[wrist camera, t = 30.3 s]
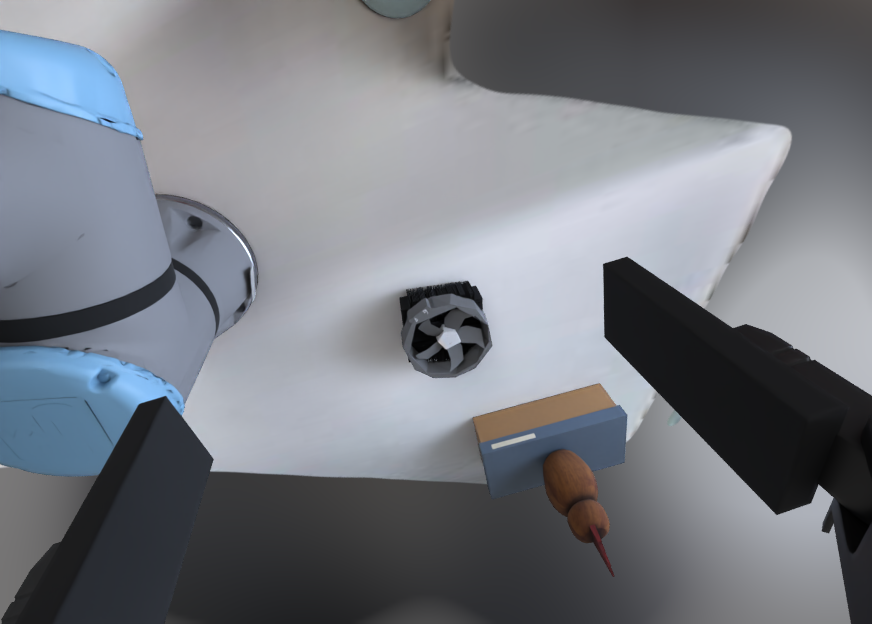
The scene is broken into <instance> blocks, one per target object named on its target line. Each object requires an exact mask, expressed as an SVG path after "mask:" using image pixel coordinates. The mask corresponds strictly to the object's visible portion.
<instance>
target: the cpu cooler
mask: <svg viewBox="0 0 872 624" xmlns="http://www.w3.org/2000/svg"><path fill="white" fill-rule="evenodd" d="M438 286H439V285H437V287H436V286H435V288H433V289H432V286H431V287H430V288H429V286H427V288H426V289H425V291H423V288H422V289H421V287H419V288H418V289H417V291H416V292H415V293H414V291H415V289H413V291H412V292H411V289H410V291H408V292H407V296H404V297H399V298H400V306H401V314H402V321H403V329H402V331H401V337H402V344H403V348H404V350H405V352H406V354H407V356H408V361H409V362H411V363H412V365H413V367H414V369H415V370H417V371H419V372H421V373H424V374H426V375H428V376H430V377H432V378H450V377H457V376H459V375H461V374H464V373H466V372H468V371H470V370H472V369H474V368H476V366H477V365H478V364H479V363H480V361H481V360H482V359H483V357H484V356H485V355H486V354H487V352H488V351H489V350H490V348H491V347H492V342H491V337H490V332H489V327H488V323H487V320H486V317H485V314H484V312H483V311H482V309H483V303H482V297H481V295H480V293H479V291H478V289H477V287H476V286H472V287H471V285H470V284H469V282H467V281H465V282H463V283H462V284H461V282H458V283H457V282H455V283H453V284H452V283H450V284H448V283H447V284H445V285H444V286H443V287H442V284H441V285H440V286H439V287H438ZM440 287H441V289H440ZM437 288H438V289H437ZM420 289H421V290H420ZM428 289H429V290H428ZM407 290H408V289H406V291H407ZM419 291H420V292H419ZM426 291H427V292H426ZM410 292H411V295H410ZM431 358H432V360H431V361H429V362H428V360H430V359H431ZM434 359H435V360H434Z"/></svg>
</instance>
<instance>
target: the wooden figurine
mask: <svg viewBox="0 0 872 624" xmlns="http://www.w3.org/2000/svg"><path fill="white" fill-rule="evenodd" d="M543 477H544V483H545V489H546V493H547V496H548V498H549V500H550V502H551V503H552V505H553V507H554V508H555V509H556V510H557V511H558V512H559V513H561V514H562V515H564V516H566V517H568V524H569V527H570V529H571V531H572V533H573V534H574V536H575V537H576V538H577V539H578V540H580V541H582V542H584V543H592V542H593V543H594V544H595V546H596V548H597V550H598V551H599V553H600V555H601V557H602V558H603V560H604V562H605V564H606V565H607V567H608V569H609V571H610V572H611V574H612V576H613V577H614V574H613V571H612V569H611V565H610V562H609V560H608V557H607V555H606V553H605V549H604V547H603V544H602V541H601V539H602V538H603V537H604V536H606V535H607V533H608V532H609V525H610V524H609V520H608V517H607V514H606V512H605V510H604V509H603V507H602V506H601V505H600V504H599V503H598V502H597V497H598V488H597V483H596V479H595V477H594V475H593V473H592V471H591V469H590V468H589V466H588V465H587V464H586V463H585V462H584V461H583V460H582V459H581V458H580V457H579V456H578V455H576V454H575V453H574V452H572V451H570V450H565V449H561V450H557V451H554V452H552V453H551V454H550V455H549V456H548V457H547V458H546V460H545V462H544V464H543Z"/></svg>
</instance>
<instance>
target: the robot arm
mask: <svg viewBox="0 0 872 624" xmlns="http://www.w3.org/2000/svg"><path fill="white" fill-rule="evenodd" d="M140 140H143V135H142V132H141V131H140V130H139V129H138V128H136V126H135V122H134V119H133V116H132V113H131V110H130V107H129V104H128V100H127V97H126V94H125V91H124V88H123V85H122V82H121V79H120V78H119V76H118V74H117V72H116V71H115V69H114V68H113V67H112V66H111V65H110V64H109V63H108V62H107V61H106V60H105V59H104V58H103V57H101V56H100V55H99V54H97V53H95V52H94V51H92V50H90V49H88V48H85V47H82V46H79V45H75V44H71V43H67V42H62V41H58V40H53V39H48V38H43V37H37V36H32V35H27V34H21V33H16V32H10V31H4V30H0V464H1V465H4V466H8V467H13V468H18V469H21V470H24V471H28V472H32V473H38V474H44V475H52V476H68V477H69V476H93V475H99V476H98V477H97V479H96V481H95V483H94V485H93V486H92V488H91V490H90V492H89V493H88V495H87V497H86V499H85V500H84V502H83V504H82V506H81V508H80V509H79V511H78V513H77V515H76V516H75V518H74V520H73V522H72V524H71V526H70V527H69V529H68V531H67V532H66V534H65V536H64V538H63V539H62V541H61V542H59V543H56V544H53V545H52V547H51V548H50V549H49V550H48V551H47V552H46V553H45V555H44V556H43V557H42V558H41V559H40V560H39V561H38V562H37V563H36V565H35V566H34V567H33V568H32V569H31V570H30V572H29V574H28V575H27V577H26V579H25V580H24V582H23V584H22V585H21V587H20V589H19V591H18V592H17V594H16V596H15V601H14V602H12V603H11V604H10V606H9V607H8V609H7V611H6V612H5V614H4V616H3V618H2V619H1V620H2V624H164V623H165V619H166V616H167V613H168V609H169V606H170V603H171V600H172V596H173V593H174V590H175V586H176V583H177V580H178V576H179V573H180V570H181V566H182V563H183V560H184V556H185V553H186V549H187V546H188V543H189V539H190V536H191V533H192V529H193V526H194V522H195V519H196V516H197V513H198V509H199V506H200V503H201V499H202V496H203V493H204V489H205V486H206V483H207V479H208V476H209V473H210V469H211V466H212V463H213V458H212V456H211V455H210V454H209V452H208V451H207V450H206V448H205V447H204V446H203V444H202V443H201V442H200V440H199V439H198V438H197V436H196V435H195V434H194V432H193V431H192V430H191V428H190V427H189V426H188V424H187V423H186V422H185V420H184V419H183V418H182V414H183V412H184V408H185V406H184V405H185V403H186V400H187V398H188V396H189V394H190V391H191V389H192V387H193V385H194V383H195V380H196V378H197V376H198V374H199V372H200V369H201V367H202V365H203V363H204V360H205V358H206V356H207V354H208V352H209V349H210V347H211V345H212V343H213V340H214V339H215V338H216V337H218V336H219V335H221V334H222V333H223V332H225V331H226V330H228V329H229V328H231V327H232V326H233V325H234V324H236V323H237V322H238V321H239V320H240V319H241V317H242V316H243V315H244V314H245V312H246V311H247V310H248V308H249V306H250V305H251V302H252V300H253V302H254V299H255V296H256V295H255V292H256V289H257V283H258V269H257V263H256V260H255V256H254V254H253V251H252V249H251V247H250V245H249V244H248V242H247V241H246V239H245V237H244V236H243V235H242V234H241V232H240V231H239V230H238V229H237V228H236V227H235V226H234V225H233V224H232V223H231V222H230V221H229V220H227V219H226V218H225V217H224V216H222V215H221V214H219V213H218V212H216V211H215V210H213V209H211V208H209V207H207V206H205V205H203V204H201V203H199V202H196V201H193V200H190V199H187V198H183V197H178V196H172V195H155V194H154V190H153V186H152V182H151V179H150V175H149V171H148V167H147V164H146V160H145V156H144V153H143V149H142V145H141V141H140ZM603 276H604V334H605V338H606V339H607V340H608V341H609V342H610V343H611V344H612V346H613V347H614V348H615V349H616V350H617V351H618V352H619V353H620V354H621V355H622V356H623V357H624V358H625V359H626V360H627V361H628V362H629V363H630V364H631V365H632V366H633V367H634V368H635V369H636V370H637V371H638V372H639V373H640V374H641V375H642V376H643V378H644V379H645V380H646V381H647V382H648V383H649V384H650V385H651V386H652V387H653V388H654V389H655V390H656V391H657V392H658V393H659V394H660V395H661V396H662V397H663V398H664V399H665V400H666V401H667V402H668V403H669V404H670V405H671V406H672V407H673V408H674V410H675V411H676V412H677V413H678V414H679V415H680V416H681V417H682V418H683V419H684V420H685V421H686V422H687V423H688V424H689V425H690V426H691V427H692V428H693V429H694V430H695V431H696V432H697V433H698V434H699V435H700V436H701V437H702V438H703V439H704V440H705V442H707V444H708V445H710V447H711V448H712V449H713V450H714V451H715V452H716V453H717V454H718V455H719V456H720V457H721V458H722V459H723V460H724V461H725V462H726V463H727V464H728V465H729V466H730V467H731V468H732V469H733V470H734V471H735V472H736V474H737V475H739V477H740V478H741V479H742V480H743V481H744V482H745V483H746V484H747V485H748V486H749V487H750V488H751V489H752V490H753V491H754V492H755V493H756V494H757V495H758V496H759V497H760V498H761V499H762V500H763V501H764V502H765V503H766V504H767V505H768V506H769V507H770V509H771V510H772V511H773V512H775V514H776V515H778V514H781V513H784V512H787V511H790V510H792V509H795V508H798V507H801V506H804V505H807V504H810V503H811V502H812V499H813V497H814V494H815V492H816V489H817V487H818V484H819V485H820V486H821V487H822V488H823V489H825V490H826V491H827V492H828V493H829V494H830V495H831V496H833V497H834V498H833V501H832V503H831V505H830V508H829V510H828V512H827V514H826V517H825V519H824V521H823V526H822V531H823V532H826V533H829V532H830V530H831V527H832V526H833V523H834V527H835V533H836V539H837V545H838V551H839V556H840V562H841V568H842V574H843V580H844V585H845V591H846V597H847V603H848V609H849V614H850V620H851V624H872V396H871V395H870V394H868V393H867V392H865V391H863V390H861V389H860V388H859V387H857V386H855V385H854V384H852V383H850V382H849V381H847V380H846V379H844V378H843V377H841V376H839V375H838V374H836V373H835V372H833V371H831V370H830V369H828V368H827V367H825V366H823V365H822V364H820V363H819V362H817V361H816V360H811V359H810V357H809V356H808V355H806V354H804V353H803V352H801V351H800V350H798V349H793V346H792V345H790V344H788V343H787V342H785V341H784V340H782V339H781V338H779V337H777V336H776V335H774V334H772V333H770V332H767V331H765V330H762V329H759V328H756V327H753V326H750V325H747V324H745V325H742V326H739V327H736V328H732V327H730V326H729V325H727V324H726V323H724V322H723V321H721V320H720V319H718V318H717V317H715V316H714V315H712V314H711V313H710V312H708V311H707V310H705V309H704V308H702V307H701V306H699V305H698V304H696V303H695V302H693V301H692V300H690V299H689V298H687V297H686V296H685V295H683V294H682V293H680V292H679V291H677V290H676V289H674V288H673V287H671V286H670V285H668V284H667V283H665V282H664V281H662V280H661V279H659V278H658V277H656V276H655V275H654V274H652V273H651V272H649V271H648V270H646V269H645V268H643V267H642V266H640V265H639V264H637V263H636V262H634V261H633V260H631V259H630V258H628V257H625V258H621V259H618V260H615V261H611V262H608V263H605V264H603Z"/></svg>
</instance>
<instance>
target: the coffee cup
mask: <svg viewBox="0 0 872 624" xmlns="http://www.w3.org/2000/svg"><path fill="white" fill-rule="evenodd" d="M362 1H363V2H364V3H365V4H366V5H367V6H368V7H369V8H371V9H372V10H373V11H375V12H377V13H379V14H381V15H383V16H386V17H390V18H404V17H408V16H411V15H413V14H415V13H417V12H419V11H420V10H421V9H422V8H424V7H425V6H426V5H427V4H428V2H429V1H430V0H362Z"/></svg>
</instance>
